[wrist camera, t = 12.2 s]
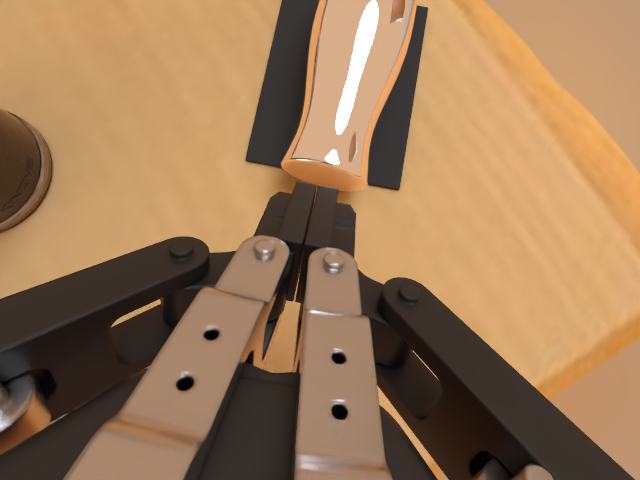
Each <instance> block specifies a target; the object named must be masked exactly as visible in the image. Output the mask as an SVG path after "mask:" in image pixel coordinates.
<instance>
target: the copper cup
mask: <svg viewBox="0 0 640 480" xmlns="http://www.w3.org/2000/svg"><path fill="white" fill-rule="evenodd" d="M417 1H418V0H318V4H317V7H316V10H315V14H314V18H313V22H312V26H311V30H310V36H309V43H308V50H307V59H306V70H305V82H304V93H303V101H302V108H301V113H300V117H299V121H298V123H297V127H296V130H295V132H294V135H293V137H292V139H291V141H290V143H289V145H288V147H287V149H286V151H285V153H284V155H283V158H282V160H281V166H282V168H283V169H284V170H285V171H286V172H287V173H289V174H290V175H292V176H294V177H296V178H298V179H300V180H302V181H305V182H308V183H310V184H316V185H317V186H318V185H321V186H327V187H332V188H337V189H338V190H340V191H361V190H364V189H365V188H366V187H367V185H368V180H369V167H370V153H371V146H372V141H373V137H374V133H375V130H376V127H377V124H378V122H379V119H380V117H381V114H382V112H383V110H384V108H385V105H386V103H387V101H388V99H389V97H390V94H391V92H392V90H393V87H394V85H395V83H396V81H397V78H398V76H399V73H400V71H401V68H402V65H403V63H404V60H405V57H406V54H407V50H408V46H409V43H410V39H411V35H412V30H413V25H414V20H415V14H416V8H417Z"/></svg>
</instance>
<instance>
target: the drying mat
mask: <svg viewBox="0 0 640 480" xmlns="http://www.w3.org/2000/svg"><path fill="white" fill-rule="evenodd" d="M317 4H318V0H282V4H281V8H280V13H279V17H278V21H277V26H276V30H275V34H274V39H273V43H272V47H271V52H270V56H269V60H268V65H267V69H266V73H265V78H264V82H263V86H262V90H261V95H260V99H259V103H258V108H257V112H256V116H255V121H254V125H253V129H252V134H251V138H250V142H249V147H248V151H247V155H246V161H250V162H255V163H260V164H266V165H271V166H276V167H281V168H282V166H281V160H282V158H283V155H284V153H285V151H286V149H287V147H288V145H289V143H290V141H291V139H292V137H293V135H294V132H295V130H296V127H297V123H298V121H299V117H300V113H301V108H302V101H303V93H304V82H305V70H306V59H307V50H308V43H309V36H310V30H311V26H312V22H313V18H314V14H315V10H316V7H317ZM427 11H428V8H427V7H422V6H417V8H416V14H415V20H414V25H413V30H412V35H411V39H410V43H409V46H408V50H407V54H406V57H405V60H404V63H403V65H402V68H401V71H400V73H399V76H398V78H397V81H396V83H395V85H394V87H393V90H392V92H391V94H390V97H389V99H388V101H387V103H386V105H385V108H384V110H383V112H382V114H381V117H380V119H379V122H378V124H377V127H376V130H375V133H374V137H373V141H372V146H371V153H370V167H369V180H368V184H369V185H374V186H380V187H385V188H390V189H395V190H399V188H400V182H401V176H402V169H403V163H404V157H405V150H406V144H407V138H408V131H409V125H410V119H411V112H412V106H413V100H414V93H415V87H416V81H417V74H418V68H419V62H420V55H421V49H422V43H423V37H424V30H425V24H426V18H427Z"/></svg>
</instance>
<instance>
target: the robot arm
mask: <svg viewBox="0 0 640 480" xmlns="http://www.w3.org/2000/svg"><path fill="white" fill-rule="evenodd" d="M50 177H51V157H50V152H49V149H48V146H47V144H46V142H45V140H44V139H43V137H42V136H41V134H40V133H39V132H38V131H37V130H36V129H35V128H34V127H33V126H32V125H30V124H29V123H27V122H26V121H24V120H23V119H21V118H19V117H18V116H16V115H14V114H12V113H10V112H7V111H5V110H3V109H2V108H0V231H2V230H5V229H7V228H9V227H12V226H13V225H15V224H17V223H19V222H20V221H21V220H23V219H24V218H25V217H27V216H28V215H29V214H30V213H31V212H32V211H33V210H34V209H35V208H36V206H37V205H38V204H39V202H40V201H41V200H42V198H43V196H44V194H45V192H46V190H47V187H48V185H49V181H50ZM316 186H317V185H316V184H310V183H305V182H300V181H296V184H295V187H294V190H293V192H292V194H289V193H284V192H278V193H277V194H275V195H274V196H272V197H271V198H270V200H269V202H268V204H267V208H266V209H265V211H264V215H263V216H262V218H261V220H260V222H259V225H258V227H257V229H256V232H255V234H254V236H253V237H250V238H248V239H246V240H245V241H243V242H242V244H241V245H240V247H239V248H238V250H236V251H232V252H222V253H209V248H208V246H207V245H206V244H205V243H204V242H203V241H201V240H199V239H196V238H193V237H175V238H171V239H167V240H165V241H162V242H159V243H156V244H153V245H151V246H148V247H145V248H142V249H139V250H136V251H134V252H131V253H128V254H125V255H122V256H120V257H117V258H114V259H111V260H108V261H106V262H103V263H100V264H97V265H94V266H92V267H89V268H86V269H83V270H80V271H78V272H75V273H72V274H69V275H66V276H64V277H61V278H58V279H55V280H52V281H49V282H47V283H44V284H41V285H38V286H35V287H33V288H30V289H27V290H24V291H21V292H19V293H16V294H13V295H10V296H7V297H5V298H2V299H0V480H438V479H437V478H436V477H435V475H434V474H433V472H432V471H431V469H430V468H429V467H428V465H427V464H426V462H425V461H424V459H423V458H422V457H421V455H420V454H419V452H418V451H417V449H416V448H415V446H414V445H413V444H412V442H411V441H410V439H409V438H408V436H407V435H406V434H405V432H404V431H403V429H402V428H401V427H400V425H399V424H398V423H397V422H396V420H395V419H394V418H393V417H392V416H391V415H390V414H389V413H388V412H387V411H386V410H385V409H384V408H383V407H381V406H380V405H379V399H378V390H377V385H378V387H379V388H380V389H381V391H382V392H383V393H384V394H385V396H386V397H387V398H388V400H389V401H390V402H391V404H392V405H393V406H394V408H395V409H396V410H397V412H398V413H399V414H400V416H401V417H402V418H403V420H404V421H405V422H406V424H407V425H408V426H409V428H410V429H411V430H412V431H413V433H414V434H415V435H416V437H417V438H418V439H419V441H420V442H421V443H422V445H423V446H424V447H425V449H426V450H427V451H428V453H429V454H430V455H431V457H432V458H433V459H434V461H435V462H436V463H437V465H438V466H439V467H440V469H441V470H442V471H443V472H444V474H445V475H446V476H447V478H448V479H449V480H635V479H634V478H632V477H631V476H630V475H629V474H628V473H627V472H626V471H625V470H624V469H623V468H622V467H620V466H619V465H618V464H617V463H616V462H615V461H614V460H613V459H612V458H611V457H610V456H608V455H607V454H606V453H605V452H604V451H603V450H602V449H601V448H600V447H599V446H598V445H596V444H595V443H594V442H593V441H592V440H591V439H590V438H589V437H588V436H587V435H585V434H584V433H583V432H582V431H581V430H580V429H579V428H578V427H577V426H576V425H575V424H574V423H573V422H572V421H570V420H569V419H568V418H567V417H566V416H565V415H564V414H563V413H562V412H561V411H559V410H558V409H557V408H556V407H555V406H554V405H553V404H552V403H551V402H550V401H549V400H548V399H546V398H545V397H544V396H543V395H542V394H541V393H540V392H539V391H538V390H537V389H536V388H535V387H533V386H532V385H531V384H530V383H529V382H528V381H527V380H526V379H525V378H524V377H523V376H521V375H520V374H519V373H518V372H517V371H516V370H515V369H514V368H513V367H512V366H511V365H509V364H508V363H507V362H506V361H505V360H504V359H503V358H502V357H501V356H500V355H499V354H498V353H496V352H495V351H494V350H493V349H492V348H491V347H490V346H489V345H488V344H487V343H486V342H484V341H483V340H482V339H481V338H480V337H479V336H478V335H477V334H476V333H475V332H474V331H473V330H471V329H470V328H469V327H468V326H467V325H466V324H465V323H464V322H463V321H462V320H461V319H459V318H458V317H457V316H456V315H455V314H454V313H453V312H452V311H451V310H450V309H449V308H447V307H446V306H445V305H444V304H443V303H442V302H441V301H440V300H439V299H438V298H437V297H436V296H434V295H433V294H432V293H431V292H430V291H429V290H428V289H427V288H426V287H424V286H423V285H422V284H420V283H418V282H416V281H414V280H411V279H408V278H399V277H398V278H392V279H390V280H388V281H387V282H386V283H385V284H384V285H383V284H381V283H379V282H377V281H374V280H372V279H370V278H368V277H367V276H365V275H364V274H363V273H362V272H361V271H360V270H359V269H358V266H357V263H356V261H355V259H354V249H355V223H356V213H355V212H354V210H353V208H352V207H351V205H348V204H343V203H337V195H338V189H337V188H332V187H327V186H321V185H318V189H317V193H316ZM315 193H316V197H315ZM314 199H315V202H314ZM313 205H314V206H313ZM300 269H301V270H300ZM299 273H300V276H299ZM298 278H299V282H298ZM297 282H298V288H297V294H296V300H295V302H299V303H301V305H300V311H299V316H298V322H297V330H296V340H295V349H294V359H293V369H292V372H288V373H270V372H267V371H265V370H263V368H264V365H265V362H266V359H267V357H268V354H269V351H270V348H271V345H272V343H273V340H274V337H275V334H276V331H277V328H278V326H279V323H280V319H281V314H282V312H283V310H284V307H285V303H286V300H288V301H293V300H294V296H295V291H296V287H297ZM158 299H160V301H161V304H160V305H158V306H155V307H153V308H151V309H149V310H147V311H145V312H143V313H141V314H139V315H136V316H134V317H132V318H130V319H128V320H126V321H124V322H122V323H119V324H117V325H115V326H113V327H111V326H112V324H113V323H114V322H115V321H116V320H117V319H119V318H120V317H122V316H124V315H126V314H128V313H130V312H132V311H134V310H137V309H139V308H141V307H143V306H145V305H147V304H150V303H152V302H154V301H156V300H158ZM110 327H111V328H110ZM412 350H413V351H414V352H415V353H416V354H417V355H418V356H419V357H420V358H421V359H422V361H423V362H424V363H425V364H426V365H427V366H428V367H429V368H430V369H431V371H432V372H433V373H434V374H435V375H436V376H437V378H438V379H439V380H438V379H437V378H436V377H435V376H434V375H433V374H432V372H431V371H430V370H429V369H428V368H427V367H426V366H425V365H424V363H423V362H422V361H421V360H420V359H419V358H418V357H417V356H416V355H415V353H414V352H413V351H412ZM148 366H150V367H149V368H146V367H148ZM145 368H146V369H145ZM143 369H144V370H143ZM141 370H142V371H141ZM99 394H100V395H99ZM94 397H95V398H94ZM89 400H90V401H89ZM87 401H88V402H87ZM86 402H87V403H86ZM84 403H85V404H84ZM82 404H83V405H82ZM80 405H82V406H80ZM79 406H80V407H79ZM77 407H78V408H77ZM75 408H77V409H75ZM73 409H75V410H73ZM72 410H73V411H72ZM70 411H72V412H70ZM68 412H70V413H68ZM66 413H68V414H67V415H65V414H66ZM63 415H65V416H64V417H62V418H60V419H59V420H57V421H55V422H54V423H52V424H50V425H49V423H51V422H53V421H54V420H56V419H58V418H59V417H61V416H63ZM48 425H49V426H48Z"/></svg>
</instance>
